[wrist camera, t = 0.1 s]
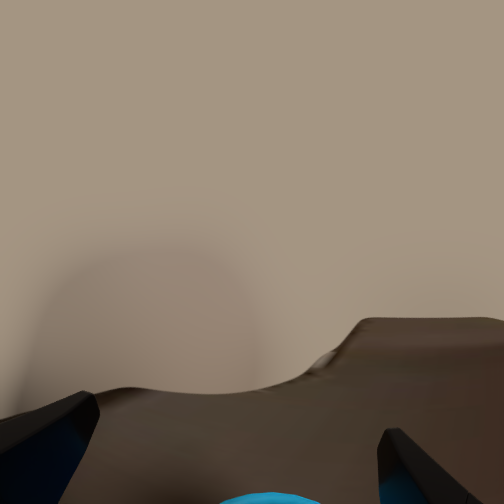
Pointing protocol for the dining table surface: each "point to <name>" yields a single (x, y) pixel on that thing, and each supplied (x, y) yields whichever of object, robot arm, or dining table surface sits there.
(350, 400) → the dining table surface
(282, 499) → the mug
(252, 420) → the dining table surface
